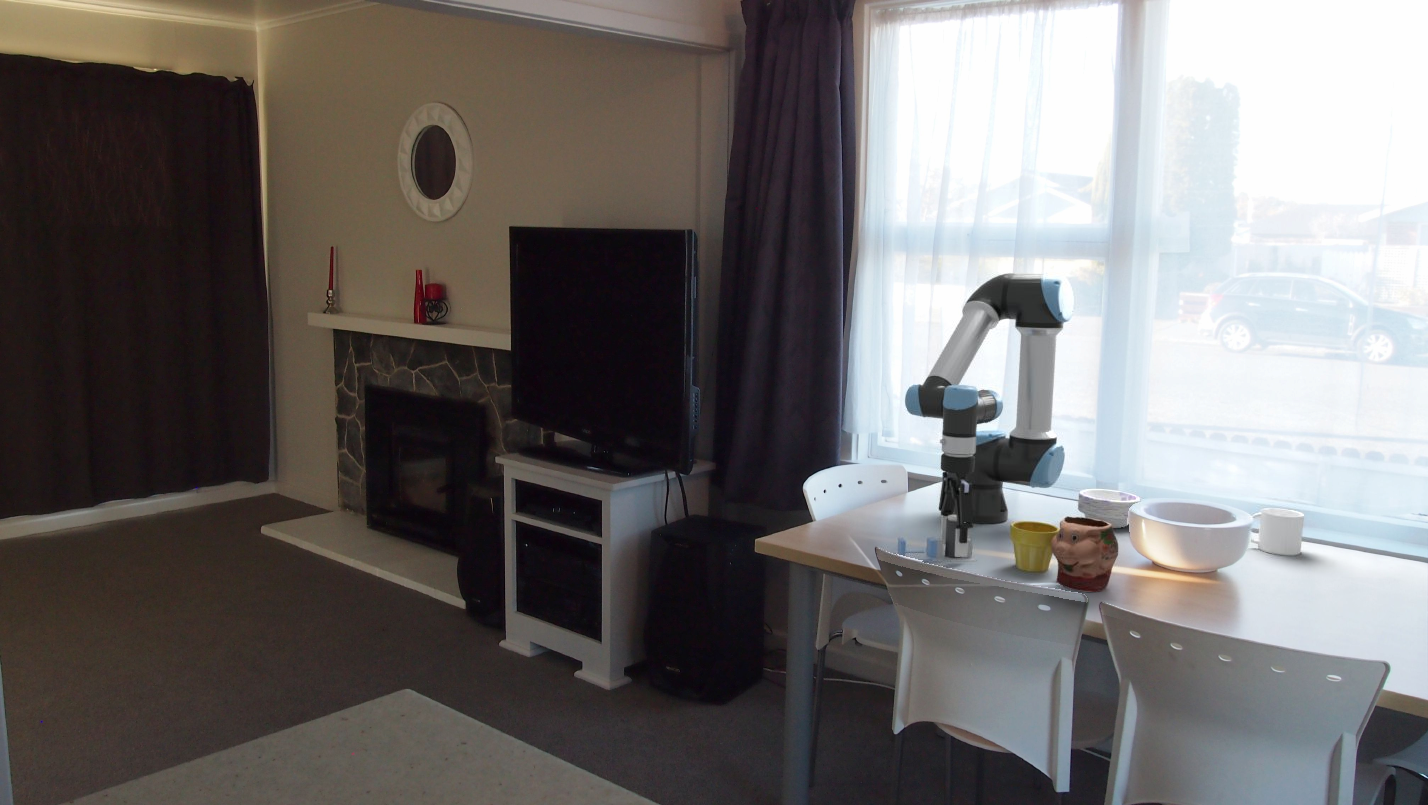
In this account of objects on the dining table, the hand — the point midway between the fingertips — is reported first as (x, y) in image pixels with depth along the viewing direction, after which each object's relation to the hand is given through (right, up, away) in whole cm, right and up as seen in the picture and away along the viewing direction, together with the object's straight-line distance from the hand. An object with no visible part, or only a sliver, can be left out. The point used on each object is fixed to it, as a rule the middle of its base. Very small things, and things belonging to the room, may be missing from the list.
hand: (953, 549), depth 233 cm
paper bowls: (+48, +2, +34) cm, 59 cm away
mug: (+79, -2, +12) cm, 80 cm away
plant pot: (+16, -3, -7) cm, 18 cm away
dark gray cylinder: (0, -1, 0) cm, 1 cm away
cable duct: (-4, -2, 0) cm, 5 cm away
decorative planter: (+24, -5, -18) cm, 30 cm away
